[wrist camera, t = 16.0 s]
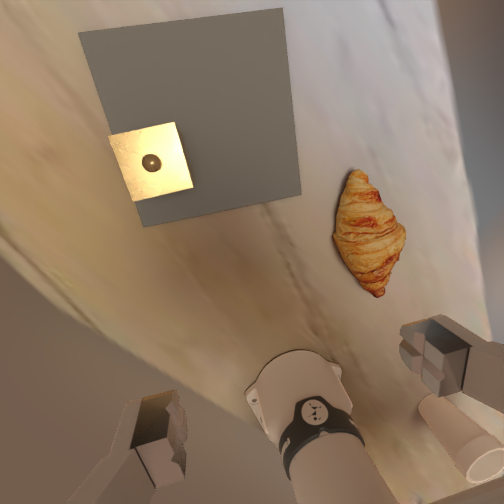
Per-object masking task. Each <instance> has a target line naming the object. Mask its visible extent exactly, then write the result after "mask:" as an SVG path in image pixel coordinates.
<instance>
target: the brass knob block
mask: <svg viewBox="0 0 504 504" xmlns="http://www.w3.org/2000/svg"><path fill="white" fill-rule="evenodd" d="M108 138H109V140H110V143H111V146H112V148H113V151H114V153H115V156H116V159H117V161H118V164H119V166H120V169H121V172H122V174H123V177H124V180H125V182H126V185H127V187H128V190H129V193H130V195H131V198H132V200H133V202H134V201H138V200H142V199H147V198H151V197H155V196H159V195H164V194H168V193H172V192H176V191H180V190H185V189H189V188H193V187H194V184H195V179H194V175H193V172H192V168H191V165H190V161H189V158H188V154H187V151H186V147H185V144H184V140H183V137H182V133H181V131H180V129H179V128H178V127H177V125H176V124H175V122H172V123H167V124H163V125H158V126H153V127H148V128H144V129H139V130H134V131H129V132H125V133H120V134H115V135H110V136H108Z"/></svg>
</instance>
